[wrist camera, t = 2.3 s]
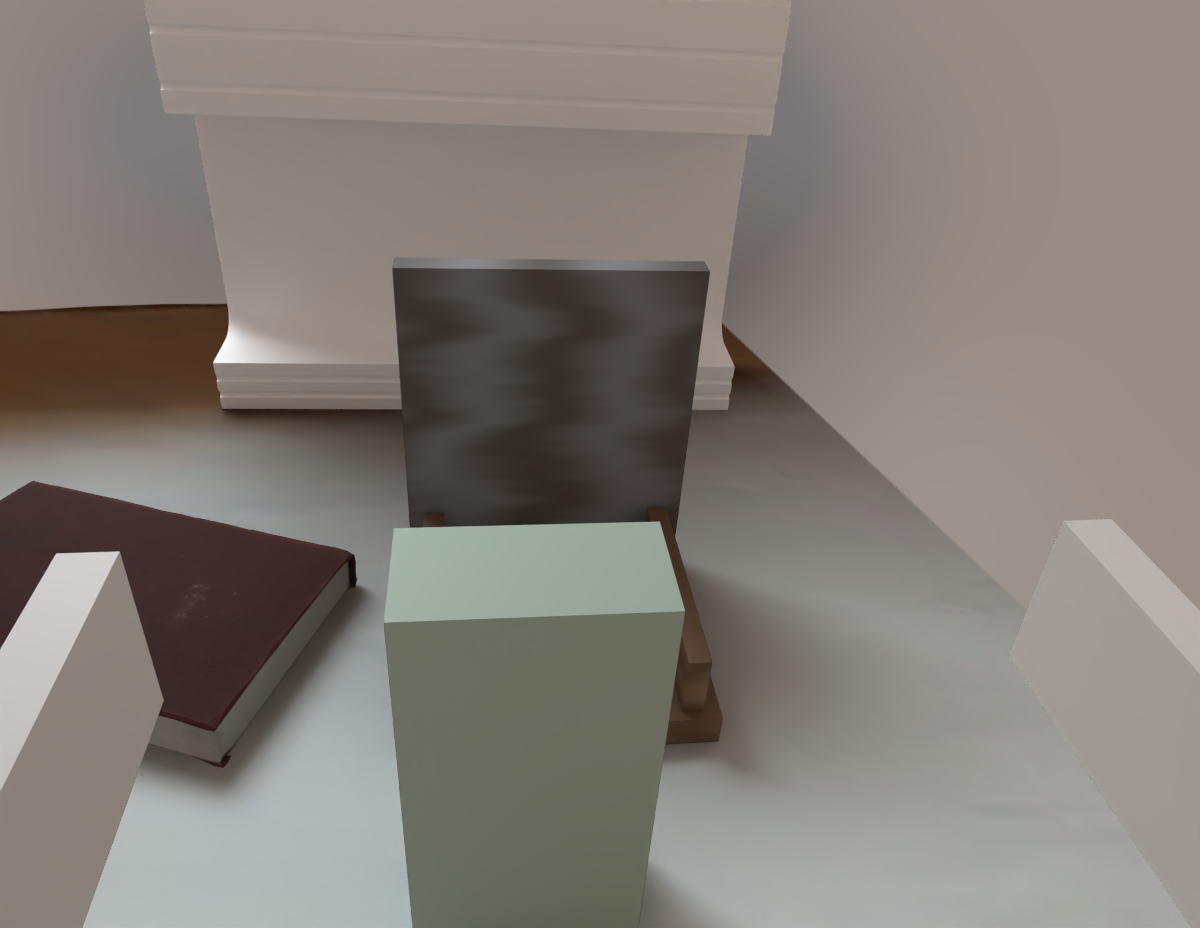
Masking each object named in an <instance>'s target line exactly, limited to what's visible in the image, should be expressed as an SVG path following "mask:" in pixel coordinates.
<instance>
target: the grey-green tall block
mask: <svg viewBox="0 0 1200 928" xmlns="http://www.w3.org/2000/svg"><path fill="white" fill-rule="evenodd" d="M684 615H685V609H684V606H683V602H682V598H681V595H680V591H679V588H678V584H677V581H676V577H675V574H674V570H673V567H672V563H671V559H670V556H669V552H668V549H667V545H666V542H665V538H664V535H663V531H662V528H661V524H660V522H624V523H584V524H544V525H504V526H464V527H424V528H394V530H393V540H392V549H391V558H390V568H389V577H388V587H387V596H386V605H385V615H384V631H385V642H386V652H387V663H388V674H389V684H390V695H391V705H392V716H393V726H394V737H395V747H396V758H397V768H398V779H399V790H400V800H401V811H402V821H403V832H404V842H405V853H406V863H407V874H408V884H409V895H410V905H411V916H412V927H413V928H638V925H639V918H640V911H641V905H642V898H643V891H644V885H645V878H646V871H647V864H648V858H649V851H650V844H651V837H652V831H653V824H654V817H655V810H656V804H657V797H658V790H659V783H660V777H661V770H662V763H663V757H664V750H665V743H666V736H667V730H668V723H669V716H670V709H671V703H672V696H673V689H674V682H675V676H676V669H677V662H678V656H679V649H680V642H681V635H682V629H683V622H684Z"/></svg>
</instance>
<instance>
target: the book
mask: <svg viewBox="0 0 1200 928" xmlns="http://www.w3.org/2000/svg"><path fill="white" fill-rule="evenodd" d="M118 551H120V555H121V558H122V561H123V565H124V568H125V571H126V575H127V578H128V582H129V585H130V588H131V592H132V595H133V598H134V602H135V605H136V609H137V612H138V615H139V619H140V622H141V625H142V629H143V632H144V636H145V639H146V642H147V646H148V649H149V652H150V656H151V659H152V663H153V666H154V669H155V673H156V676H157V679H158V683H159V686H160V690H161V693H162V696H163V700H164V701H163V704H162V706H161V709H160V712H159V715H158V718H157V720H156V723H155V726H154V729H153V732H152V734H151V737H150V740H149V743H148V744H152V745H155V746H159V747H163V748H166V749H170V750H173V751H176V752H179V753H182V754H185V755H188V756H192V757H195V758H197V759H200V760H203V761H205V762H207V763H210V764H212V765H214V766H218V767H223V768H224V766H225V765H226V764H227V763H228V761H229V759H230V757H231V755H230V756H227V754H228V753H229V752H230V750H231V749H232V747H233V746H234V744H235V743H236V741H237V740H238V739H239V737H240V736H241V735H242V733H243V732H244V731H245V729H246V728H247V726H248V725H249V724H250V722H251V721H252V719H253V718H254V717H255V715H256V714H257V712H258V711H259V710H260V708H261V707H262V705H263V704H264V703H265V701H266V700H267V699H268V697H269V696H270V695H271V693H272V692H273V690H274V689H275V688H276V686H277V685H278V683H279V682H280V681H281V679H282V678H283V676H284V675H285V674H286V672H287V671H288V670H289V668H290V667H291V665H292V664H293V663H294V661H295V660H296V659H297V657H298V656H299V654H300V653H301V652H302V650H303V649H304V648H305V646H306V645H307V643H308V642H309V641H310V639H311V638H312V637H313V635H314V634H315V632H316V631H317V630H318V628H319V627H320V626H321V624H322V623H323V621H324V620H325V619H326V617H327V616H328V614H329V613H330V612H331V610H332V609H333V608H334V606H335V605H336V603H337V602H338V601H339V599H340V598H341V597H342V595H343V594H344V593H345V591H346V590H347V588H348V587H355V585H356V581H357V578H356V561H355V557H354V555H353V554H352V553H350V552H348V551H346V550H342V549H339V548H335V547H330V546H324V545H319V544H314V543H309V542H305V541H300V540H295V539H291V538H286V537H282V536H277V535H273V534H268V533H264V532H260V531H255V530H248V529H244V528H240V527H236V526H233V525H228V524H223V523H219V522H214V521H210V520H205V519H200V518H194V517H190V516H186V515H182V514H177V513H172V512H166V511H161V510H158V509H154V508H150V507H146V506H142V505H138V504H134V503H130V502H126V501H122V500H118V499H114V498H109V497H104V496H99V495H95V494H90V493H85V492H81V491H77V490H72V489H68V488H64V487H59V486H53V485H48V484H43V483H39V482H35V481H32V482H30V483H28V484H26V485H25V486H23V487H21V488H20V489H18V490H16V491H15V492H13V493H11V494H10V495H8V496H7V497H5V498H3V499H2V500H0V649H1V647H2V645H3V644H4V642H5V640H6V639H7V637H8V635H9V633H10V632H11V630H12V628H13V627H14V625H15V623H16V621H17V620H18V618H19V616H20V615H21V613H22V611H23V610H24V608H25V606H26V604H27V603H28V601H29V599H30V598H31V596H32V594H33V592H34V591H35V589H36V587H37V586H38V584H39V582H40V580H41V579H42V577H43V575H44V574H45V572H46V570H47V569H48V567H49V565H50V563H51V562H52V560H53V558H54V557H55V555H56V554H57V553H87V552H118Z"/></svg>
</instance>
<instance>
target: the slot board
mask: <svg viewBox="0 0 1200 928" xmlns="http://www.w3.org/2000/svg"><path fill="white" fill-rule="evenodd" d="M392 273H393V287H394V302H395V316H396V331H397V345H398V360H399V374H400V389H401V403H402V418H403V432H404V447H405V461H406V476H407V490H408V505H409V519H410V528H424V527H464V526H504V525H544V524H584V523H624V522H660V524H661V528H662V531H663V535H664V538H665V542H666V545H667V549H668V552H669V556H670V559H671V563H672V567H673V570H674V574H675V577H676V581H677V584H678V588H679V591H680V595H681V598H682V602H683V606H684V609H685V615H684V622H683V629H682V635H681V642H680V649H679V656H678V662H677V669H676V676H675V682H674V689H673V696H672V703H671V709H670V716H669V723H668V730H667V736H666V743H665V744H674V743H691V742H709V741H718V739H719V734H720V729H721V724H722V719H723V718H722V714H721V711H720V708H719V704H718V701H717V697H716V694H715V690H714V687H713V683H712V680H711V677H710V671H711V666H712V660H711V657H710V653H709V650H708V647H707V643H706V640H705V637H704V633H703V630H702V626H701V623H700V620H699V616H698V613H697V610H696V606H695V603H694V600H693V596H692V593H691V589H690V586H689V583H688V579H687V576H686V573H685V569H684V566H683V563H682V559H681V556H680V552H679V549H678V546H677V542H676V539H675V534H676V526H677V518H678V511H679V503H680V496H681V488H682V481H683V473H684V465H685V458H686V450H687V443H688V435H689V428H690V420H691V412H692V405H693V397H694V390H695V382H696V375H697V367H698V359H699V352H700V344H701V337H702V329H703V322H704V314H705V306H706V299H707V291H708V284H709V276H710V270H709V268H708V267H707V265H706V263H705V261H646V260H563V259H480V258H398V257H394V260H393V266H392Z"/></svg>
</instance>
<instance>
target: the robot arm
mask: <svg viewBox="0 0 1200 928" xmlns="http://www.w3.org/2000/svg"><path fill="white" fill-rule="evenodd" d="M1009 657H1010V659H1011V660H1012V662H1013V663H1014V665H1015V666H1016V668H1017V669H1018V671H1019V672H1020V674H1021V675H1022V677H1023V678H1024V680H1025V681H1026V683H1027V684H1028V686H1029V687H1030V689H1031V690H1032V692H1033V693H1034V695H1035V696H1036V698H1037V699H1038V701H1039V702H1040V704H1041V705H1042V707H1043V708H1044V709H1045V711H1046V712H1047V714H1048V715H1049V717H1050V718H1051V720H1052V721H1053V723H1054V724H1055V726H1056V727H1057V729H1058V730H1059V732H1060V733H1061V735H1062V736H1063V738H1064V739H1065V741H1066V742H1067V744H1068V745H1069V747H1070V748H1071V750H1072V751H1073V753H1074V754H1075V756H1076V757H1077V759H1078V760H1079V762H1080V763H1081V764H1082V766H1083V767H1084V769H1085V770H1086V772H1087V773H1088V775H1089V776H1090V778H1091V779H1092V781H1093V782H1094V784H1095V785H1096V787H1097V788H1098V790H1099V791H1100V793H1101V794H1102V796H1103V797H1104V799H1105V800H1106V802H1107V803H1108V805H1109V806H1110V808H1111V809H1112V811H1113V812H1114V814H1115V815H1116V817H1117V818H1118V819H1119V821H1120V822H1121V824H1122V825H1123V827H1124V828H1125V830H1126V831H1127V833H1128V834H1129V836H1130V837H1131V839H1132V840H1133V842H1134V843H1135V845H1136V846H1137V848H1138V849H1139V851H1140V852H1141V854H1142V855H1143V857H1144V858H1145V860H1146V861H1147V863H1148V864H1149V866H1150V867H1151V869H1152V870H1153V872H1154V873H1155V874H1156V876H1157V877H1158V879H1159V880H1160V882H1161V883H1162V885H1163V886H1164V888H1165V889H1166V891H1167V892H1168V894H1169V895H1170V897H1171V898H1172V900H1173V901H1174V903H1175V904H1176V906H1177V907H1178V909H1179V910H1180V912H1181V913H1182V915H1183V916H1184V918H1185V919H1186V921H1187V922H1188V924H1189V925H1190V927H1191V928H1200V611H1199V609H1198V608H1197V607H1196V606H1195V605H1194V604H1193V603H1192V602H1191V601H1190V600H1189V599H1188V598H1187V597H1186V596H1185V595H1184V594H1183V593H1182V592H1181V591H1180V590H1179V589H1178V588H1177V587H1176V586H1175V585H1174V584H1173V582H1172V581H1171V580H1170V579H1169V578H1168V577H1167V576H1166V575H1165V574H1164V573H1163V572H1162V571H1161V570H1160V569H1159V568H1158V567H1157V566H1156V565H1155V564H1154V563H1153V562H1152V561H1151V560H1150V559H1149V558H1148V557H1147V556H1146V554H1144V552H1143V551H1142V550H1141V549H1140V548H1139V547H1138V546H1137V545H1136V544H1135V543H1134V542H1133V541H1132V540H1131V539H1130V538H1129V537H1128V536H1127V535H1126V534H1125V533H1124V532H1123V531H1122V530H1121V529H1120V528H1119V527H1118V525H1117V524H1116V523H1115V522H1114V521H1113V520H1112V519H1101V520H1071V521H1070V520H1069V521H1063V523H1062V525H1061V528H1060V531H1059V533H1058V536H1057V538H1056V540H1055V543H1054V545H1053V548H1052V550H1051V553H1050V555H1049V558H1048V560H1047V563H1046V566H1045V568H1044V570H1043V573H1042V575H1041V578H1040V580H1039V582H1038V585H1037V587H1036V590H1035V592H1034V595H1033V597H1032V600H1031V602H1030V605H1029V607H1028V610H1027V612H1026V614H1025V617H1024V619H1023V622H1022V624H1021V627H1020V629H1019V632H1018V634H1017V637H1016V639H1015V642H1014V644H1013V647H1012V649H1011V652H1010V654H1009ZM163 701H164V700H163V696H162V693H161V690H160V686H159V683H158V679H157V676H156V673H155V669H154V666H153V663H152V659H151V656H150V652H149V649H148V646H147V642H146V639H145V636H144V632H143V629H142V625H141V622H140V619H139V615H138V612H137V609H136V605H135V602H134V598H133V595H132V592H131V588H130V585H129V582H128V578H127V575H126V571H125V568H124V565H123V561H122V558H121V555H120V551H118V552H87V553H57V554H56V555H55V557H54V558H53V560H52V562H51V563H50V565H49V567H48V569H47V570H46V572H45V574H44V575H43V577H42V579H41V580H40V582H39V584H38V586H37V587H36V589H35V591H34V592H33V594H32V596H31V598H30V599H29V601H28V603H27V604H26V606H25V608H24V610H23V611H22V613H21V615H20V616H19V618H18V620H17V621H16V623H15V625H14V627H13V628H12V630H11V632H10V633H9V635H8V637H7V639H6V640H5V642H4V644H3V645H2V647H1V649H0V928H82V927H83V924H84V922H85V919H86V916H87V913H88V910H89V908H90V905H91V902H92V899H93V896H94V894H95V891H96V888H97V885H98V882H99V880H100V877H101V874H102V871H103V869H104V866H105V863H106V860H107V857H108V855H109V852H110V849H111V846H112V843H113V841H114V838H115V835H116V832H117V829H118V827H119V824H120V821H121V818H122V815H123V813H124V810H125V807H126V804H127V801H128V799H129V796H130V793H131V790H132V787H133V785H134V782H135V779H136V776H137V773H138V771H139V768H140V765H141V762H142V760H143V757H144V754H145V751H146V748H147V746H148V743H149V740H150V737H151V734H152V732H153V729H154V726H155V723H156V720H157V718H158V715H159V712H160V709H161V706H162V704H163Z"/></svg>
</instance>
